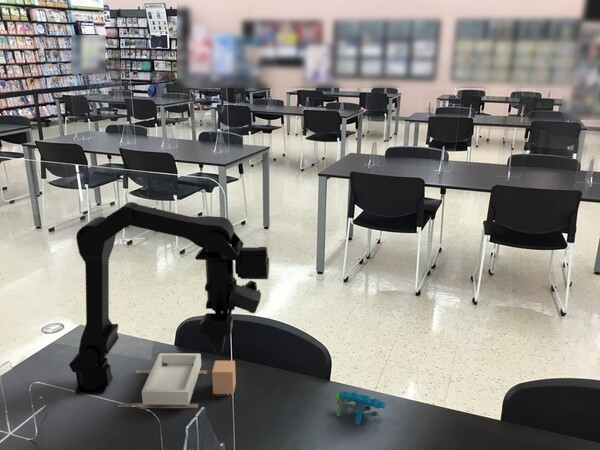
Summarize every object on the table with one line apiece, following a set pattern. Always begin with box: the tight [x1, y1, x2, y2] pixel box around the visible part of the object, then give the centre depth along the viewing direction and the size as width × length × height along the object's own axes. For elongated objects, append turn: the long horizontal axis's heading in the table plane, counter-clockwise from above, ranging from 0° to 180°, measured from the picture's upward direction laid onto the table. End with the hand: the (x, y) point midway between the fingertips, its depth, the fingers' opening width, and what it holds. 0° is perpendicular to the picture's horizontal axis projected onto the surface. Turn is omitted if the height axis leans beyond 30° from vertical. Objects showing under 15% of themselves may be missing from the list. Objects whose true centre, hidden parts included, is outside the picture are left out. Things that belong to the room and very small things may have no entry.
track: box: [118, 369, 208, 409], centre depth 116 cm, size 17×14×1 cm
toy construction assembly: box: [333, 390, 387, 426], centre depth 106 cm, size 11×6×10 cm
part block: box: [211, 360, 237, 396], centre depth 115 cm, size 4×4×6 cm
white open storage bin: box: [141, 352, 202, 405], centre depth 115 cm, size 10×15×4 cm, turn 0°
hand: (222, 342), depth 112 cm, fingers open, 9 cm apart
